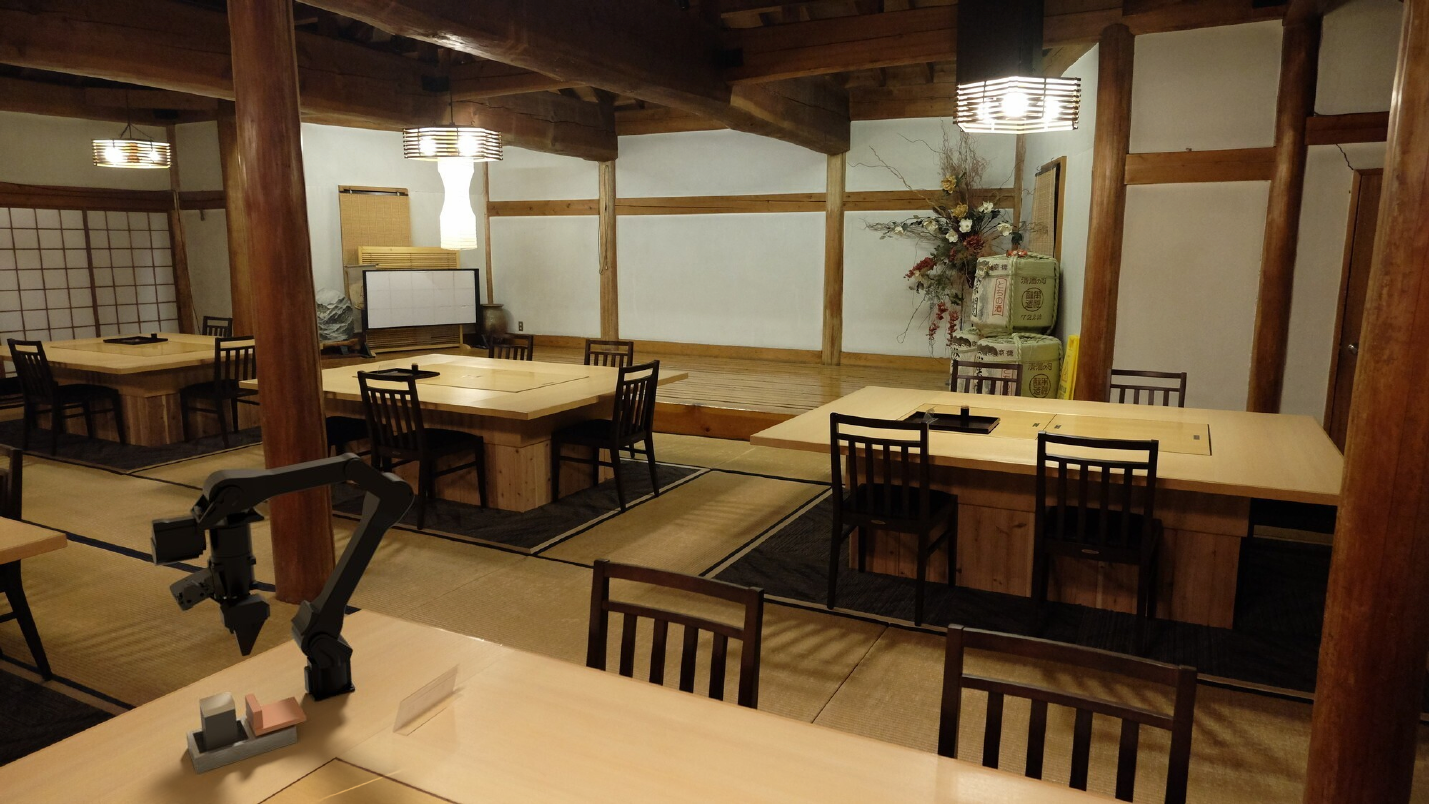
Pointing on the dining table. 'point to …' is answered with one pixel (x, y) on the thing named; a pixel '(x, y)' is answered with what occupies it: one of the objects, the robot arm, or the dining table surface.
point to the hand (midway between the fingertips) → (239, 644)
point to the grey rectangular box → (237, 745)
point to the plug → (218, 721)
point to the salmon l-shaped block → (272, 714)
